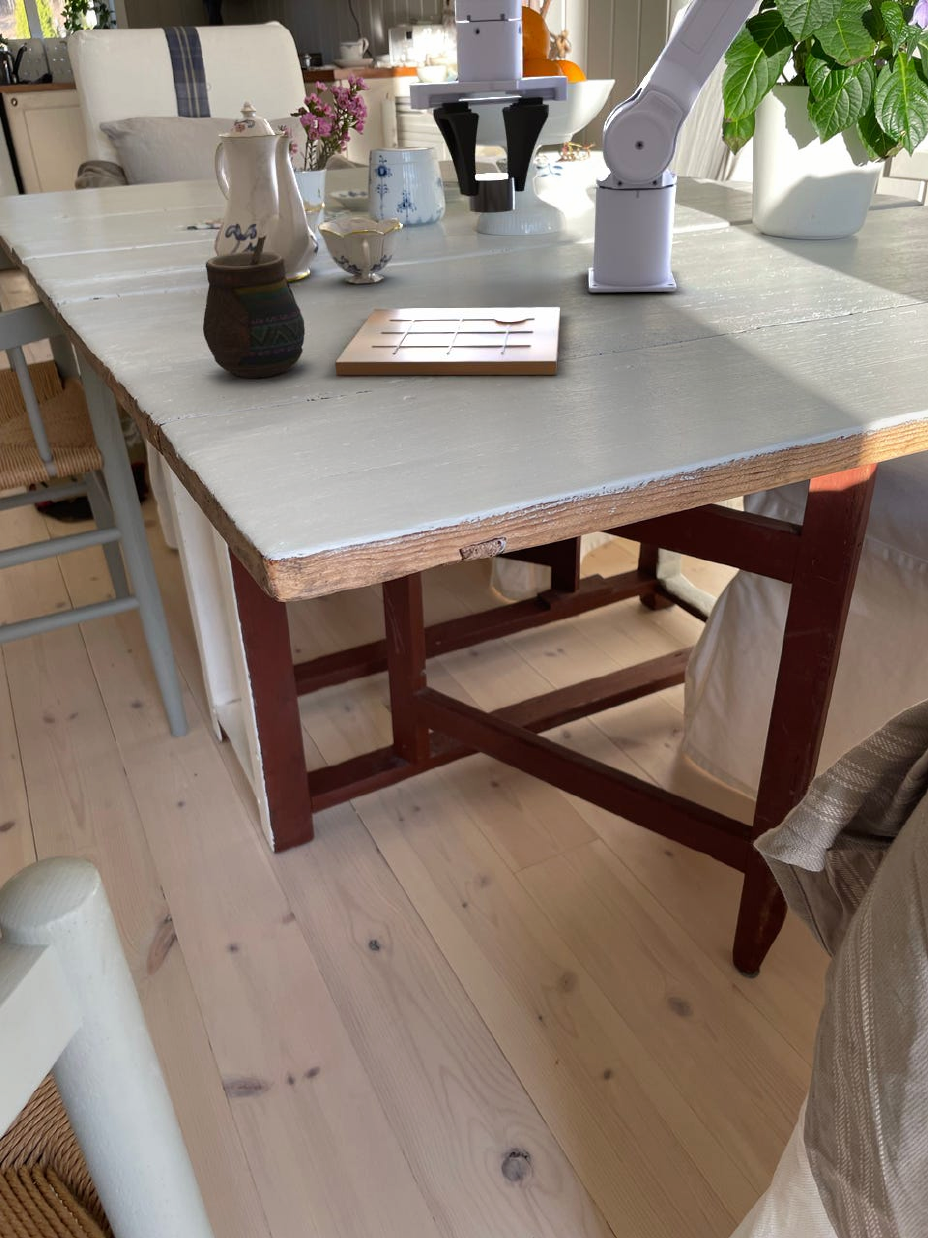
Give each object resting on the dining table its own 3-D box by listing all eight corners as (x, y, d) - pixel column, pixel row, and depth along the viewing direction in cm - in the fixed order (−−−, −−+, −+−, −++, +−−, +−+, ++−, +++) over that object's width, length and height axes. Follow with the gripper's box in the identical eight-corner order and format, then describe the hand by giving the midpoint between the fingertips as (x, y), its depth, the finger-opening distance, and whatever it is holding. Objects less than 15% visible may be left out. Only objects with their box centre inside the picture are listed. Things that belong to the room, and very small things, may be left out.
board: (375, 320, 85) (374, 307, 84) (560, 318, 83) (560, 305, 82) (336, 375, 71) (334, 360, 70) (556, 374, 69) (556, 359, 69)
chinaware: (434, 294, 99) (440, 111, 92) (292, 305, 90) (286, 101, 82) (292, 259, 118) (288, 105, 111) (162, 265, 108) (147, 96, 101)
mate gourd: (274, 350, 77) (256, 216, 72) (331, 368, 72) (316, 225, 67) (194, 371, 73) (169, 230, 68) (248, 391, 68) (226, 241, 63)
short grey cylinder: (464, 207, 93) (463, 175, 91) (509, 204, 94) (509, 172, 92) (475, 213, 89) (474, 180, 88) (521, 210, 90) (521, 177, 88)
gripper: (426, 22, 78) (435, 204, 85) (585, 17, 83) (581, 190, 90) (397, 25, 84) (407, 195, 91) (547, 20, 88) (546, 182, 95)
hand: (492, 192), depth 91 cm, fingers closed on short grey cylinder, 4 cm apart
